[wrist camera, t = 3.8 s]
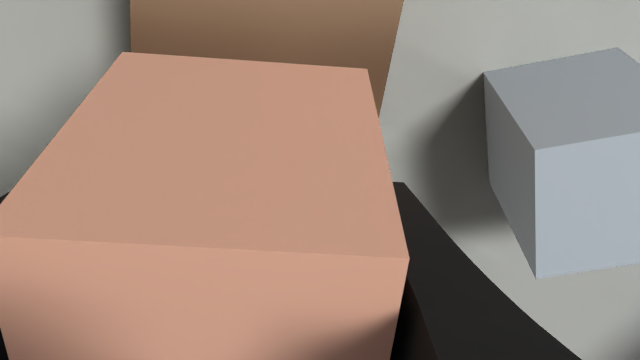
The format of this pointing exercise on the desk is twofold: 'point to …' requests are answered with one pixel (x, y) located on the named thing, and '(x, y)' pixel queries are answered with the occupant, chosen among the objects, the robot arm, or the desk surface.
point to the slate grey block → (568, 159)
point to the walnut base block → (273, 32)
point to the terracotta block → (207, 219)
